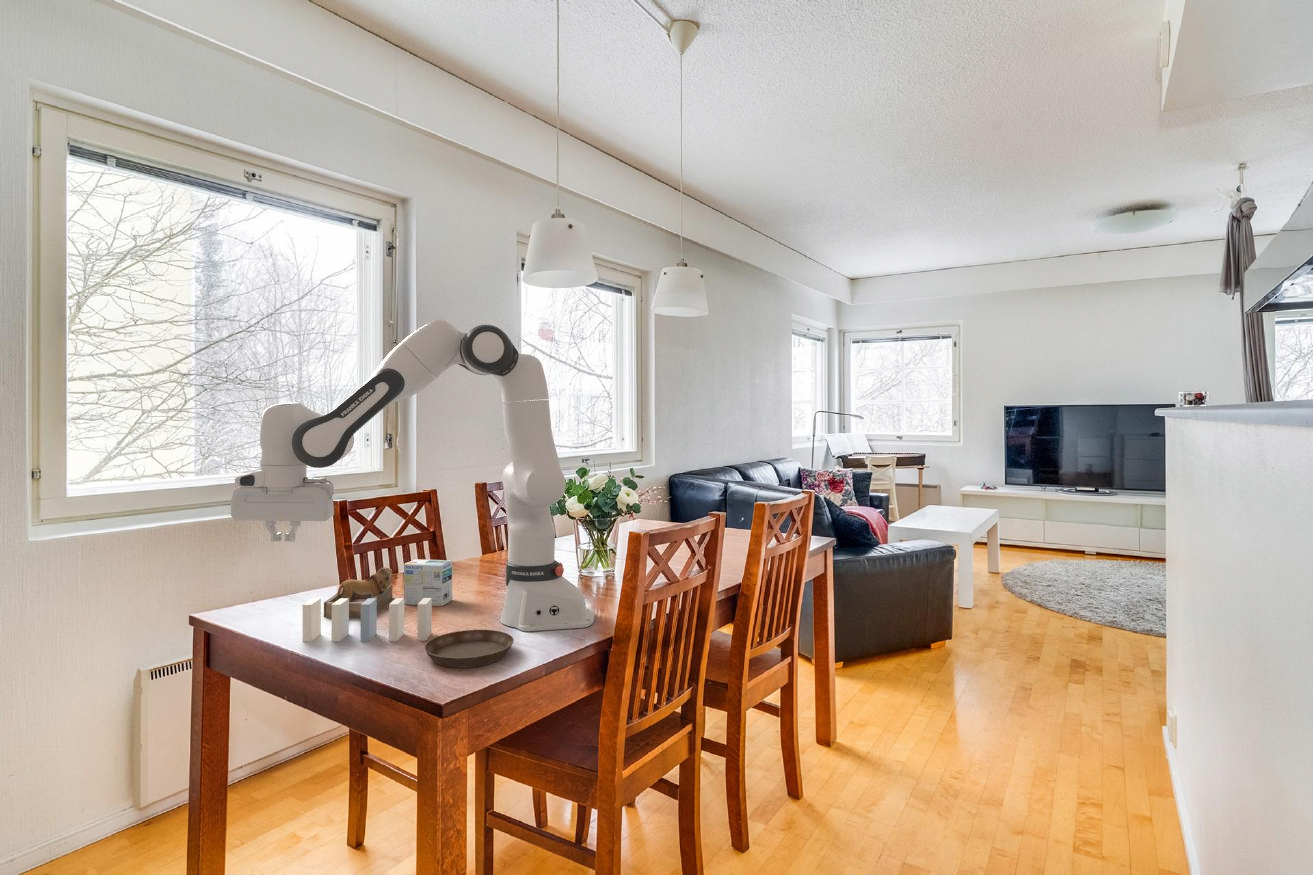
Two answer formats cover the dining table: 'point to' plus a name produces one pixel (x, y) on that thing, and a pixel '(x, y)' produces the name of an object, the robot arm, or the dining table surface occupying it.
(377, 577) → the lion figurine
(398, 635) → the domino
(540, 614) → the robot arm
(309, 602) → the domino
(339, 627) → the domino
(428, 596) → the light bulb box
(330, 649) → the dining table surface
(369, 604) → the domino
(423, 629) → the domino
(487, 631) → the plant saucer
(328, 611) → the brown tray
